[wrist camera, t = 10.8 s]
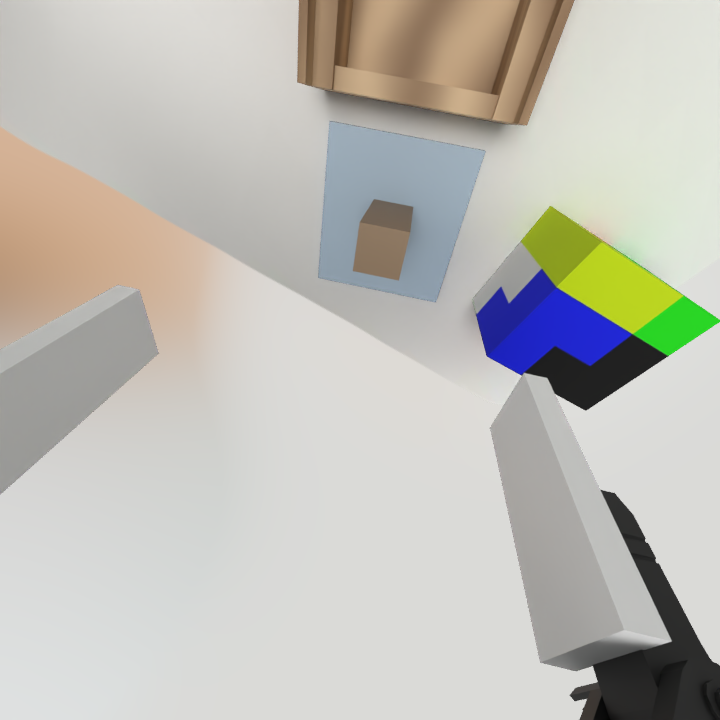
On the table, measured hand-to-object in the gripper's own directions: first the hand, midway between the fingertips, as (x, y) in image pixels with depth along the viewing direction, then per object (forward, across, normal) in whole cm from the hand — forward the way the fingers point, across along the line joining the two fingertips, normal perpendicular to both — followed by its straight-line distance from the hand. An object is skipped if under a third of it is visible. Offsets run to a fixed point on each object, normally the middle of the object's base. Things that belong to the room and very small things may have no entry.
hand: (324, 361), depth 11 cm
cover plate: (+23, +1, -1) cm, 23 cm away
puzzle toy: (+23, +17, -3) cm, 28 cm away
